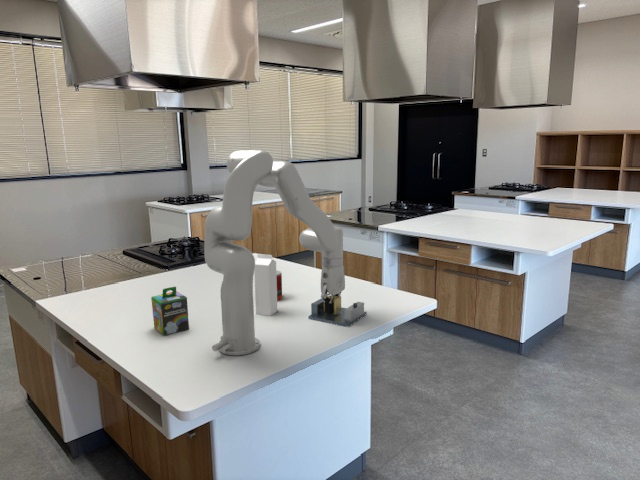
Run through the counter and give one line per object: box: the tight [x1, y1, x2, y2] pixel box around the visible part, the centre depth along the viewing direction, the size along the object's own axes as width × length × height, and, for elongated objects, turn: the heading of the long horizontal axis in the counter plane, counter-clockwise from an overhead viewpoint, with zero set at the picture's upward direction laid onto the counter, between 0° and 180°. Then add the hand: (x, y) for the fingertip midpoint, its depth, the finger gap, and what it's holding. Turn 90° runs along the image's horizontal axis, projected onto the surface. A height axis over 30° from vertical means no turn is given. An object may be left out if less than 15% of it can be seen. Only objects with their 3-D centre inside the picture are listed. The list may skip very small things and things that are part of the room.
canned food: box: [276, 269, 283, 302], centre depth 187 cm, size 8×8×11 cm
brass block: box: [324, 295, 342, 314], centre depth 167 cm, size 4×5×6 cm
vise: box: [308, 297, 367, 327], centre depth 167 cm, size 14×16×5 cm
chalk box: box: [150, 286, 190, 337], centre depth 156 cm, size 9×9×15 cm
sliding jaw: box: [345, 301, 365, 322], centre depth 163 cm, size 10×2×5 cm, turn 149°
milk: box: [253, 253, 278, 317], centre depth 170 cm, size 6×6×22 cm
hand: (332, 310), depth 168 cm, fingers closed on brass block, 4 cm apart
